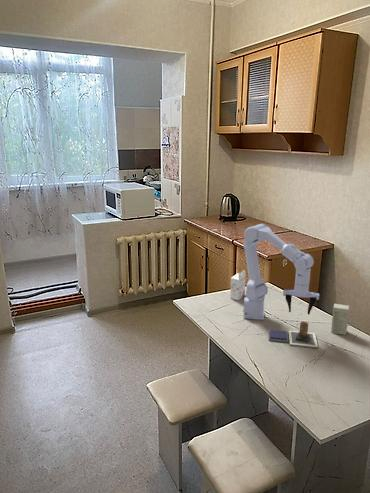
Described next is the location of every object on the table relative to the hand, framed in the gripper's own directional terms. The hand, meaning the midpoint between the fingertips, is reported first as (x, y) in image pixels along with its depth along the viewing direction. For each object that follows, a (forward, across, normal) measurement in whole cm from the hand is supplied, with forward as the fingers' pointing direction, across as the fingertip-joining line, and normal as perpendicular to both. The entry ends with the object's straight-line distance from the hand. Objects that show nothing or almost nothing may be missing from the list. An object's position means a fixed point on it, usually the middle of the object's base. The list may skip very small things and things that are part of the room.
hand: (299, 312), depth 159 cm
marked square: (+10, -2, +6) cm, 11 cm away
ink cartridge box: (+10, +30, -30) cm, 44 cm away
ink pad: (+10, +8, +6) cm, 14 cm away
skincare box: (+10, -18, -5) cm, 21 cm away
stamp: (+9, -2, +6) cm, 11 cm away
